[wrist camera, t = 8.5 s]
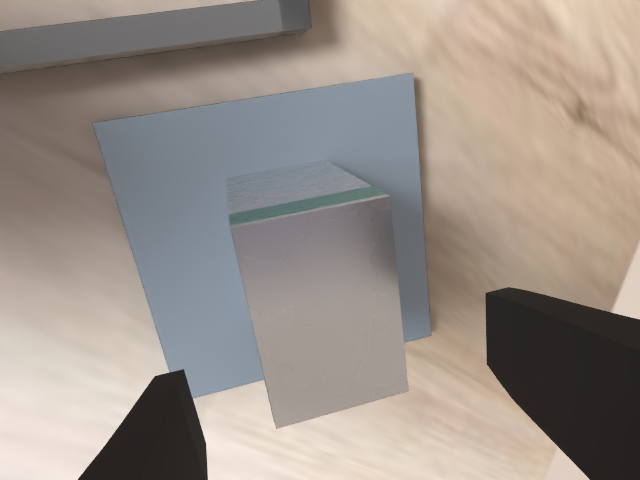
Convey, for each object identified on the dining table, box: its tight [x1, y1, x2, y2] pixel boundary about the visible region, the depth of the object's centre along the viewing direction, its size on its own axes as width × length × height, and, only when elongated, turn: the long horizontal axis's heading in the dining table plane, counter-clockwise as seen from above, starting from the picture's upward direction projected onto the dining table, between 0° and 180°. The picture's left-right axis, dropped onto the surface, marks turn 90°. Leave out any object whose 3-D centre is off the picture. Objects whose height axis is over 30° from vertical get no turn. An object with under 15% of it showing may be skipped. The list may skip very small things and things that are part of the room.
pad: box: [92, 73, 431, 398], centre depth 19 cm, size 12×12×1 cm
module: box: [225, 160, 408, 429], centre depth 15 cm, size 4×6×7 cm, turn 9°
